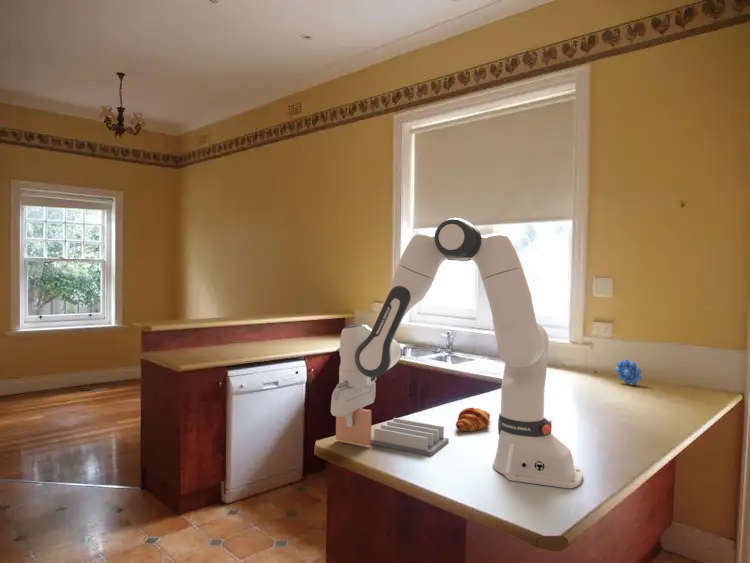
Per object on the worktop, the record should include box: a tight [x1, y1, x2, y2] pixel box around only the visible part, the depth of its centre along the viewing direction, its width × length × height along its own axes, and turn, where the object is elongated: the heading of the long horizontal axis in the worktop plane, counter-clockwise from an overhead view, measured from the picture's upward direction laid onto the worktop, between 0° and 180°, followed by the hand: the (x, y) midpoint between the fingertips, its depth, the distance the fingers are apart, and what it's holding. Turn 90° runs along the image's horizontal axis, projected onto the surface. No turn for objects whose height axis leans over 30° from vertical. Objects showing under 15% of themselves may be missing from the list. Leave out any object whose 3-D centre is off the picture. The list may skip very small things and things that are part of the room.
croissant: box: [455, 407, 491, 432], centre depth 177 cm, size 21×10×8 cm, turn 143°
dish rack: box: [370, 417, 449, 457], centre depth 159 cm, size 20×14×5 cm
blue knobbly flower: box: [614, 358, 642, 386], centre depth 248 cm, size 12×7×12 cm, turn 54°
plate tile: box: [335, 408, 372, 447], centre depth 156 cm, size 11×2×10 cm, turn 61°
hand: (353, 424), depth 156 cm, fingers closed on plate tile, 2 cm apart
